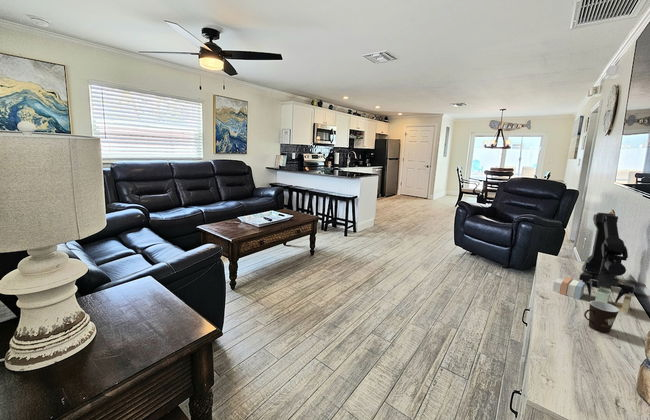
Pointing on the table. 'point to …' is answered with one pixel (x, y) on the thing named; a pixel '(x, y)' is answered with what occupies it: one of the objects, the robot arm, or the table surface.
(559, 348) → the table surface
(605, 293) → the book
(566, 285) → the book row
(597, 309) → the coffee mug
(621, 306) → the bookend
